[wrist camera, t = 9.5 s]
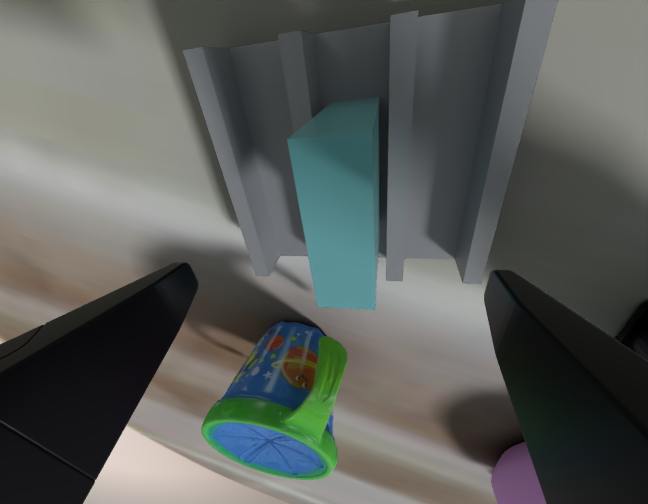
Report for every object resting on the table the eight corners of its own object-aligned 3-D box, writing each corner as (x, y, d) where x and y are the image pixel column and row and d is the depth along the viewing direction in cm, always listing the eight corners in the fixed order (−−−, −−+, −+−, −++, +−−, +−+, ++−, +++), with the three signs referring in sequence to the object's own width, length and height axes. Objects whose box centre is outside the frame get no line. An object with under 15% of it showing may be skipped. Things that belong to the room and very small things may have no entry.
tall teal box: (380, 219, 18) (375, 310, 12) (342, 219, 18) (317, 306, 12) (380, 96, 14) (372, 132, 8) (331, 102, 15) (286, 139, 8)
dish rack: (468, 250, 19) (482, 284, 16) (272, 248, 22) (255, 275, 20) (522, 2, 12) (563, -15, 9) (219, 51, 15) (181, 50, 12)
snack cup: (295, 387, 35) (266, 489, 27) (224, 343, 32) (168, 442, 24) (391, 341, 26) (392, 470, 18) (306, 275, 23) (263, 393, 15)
